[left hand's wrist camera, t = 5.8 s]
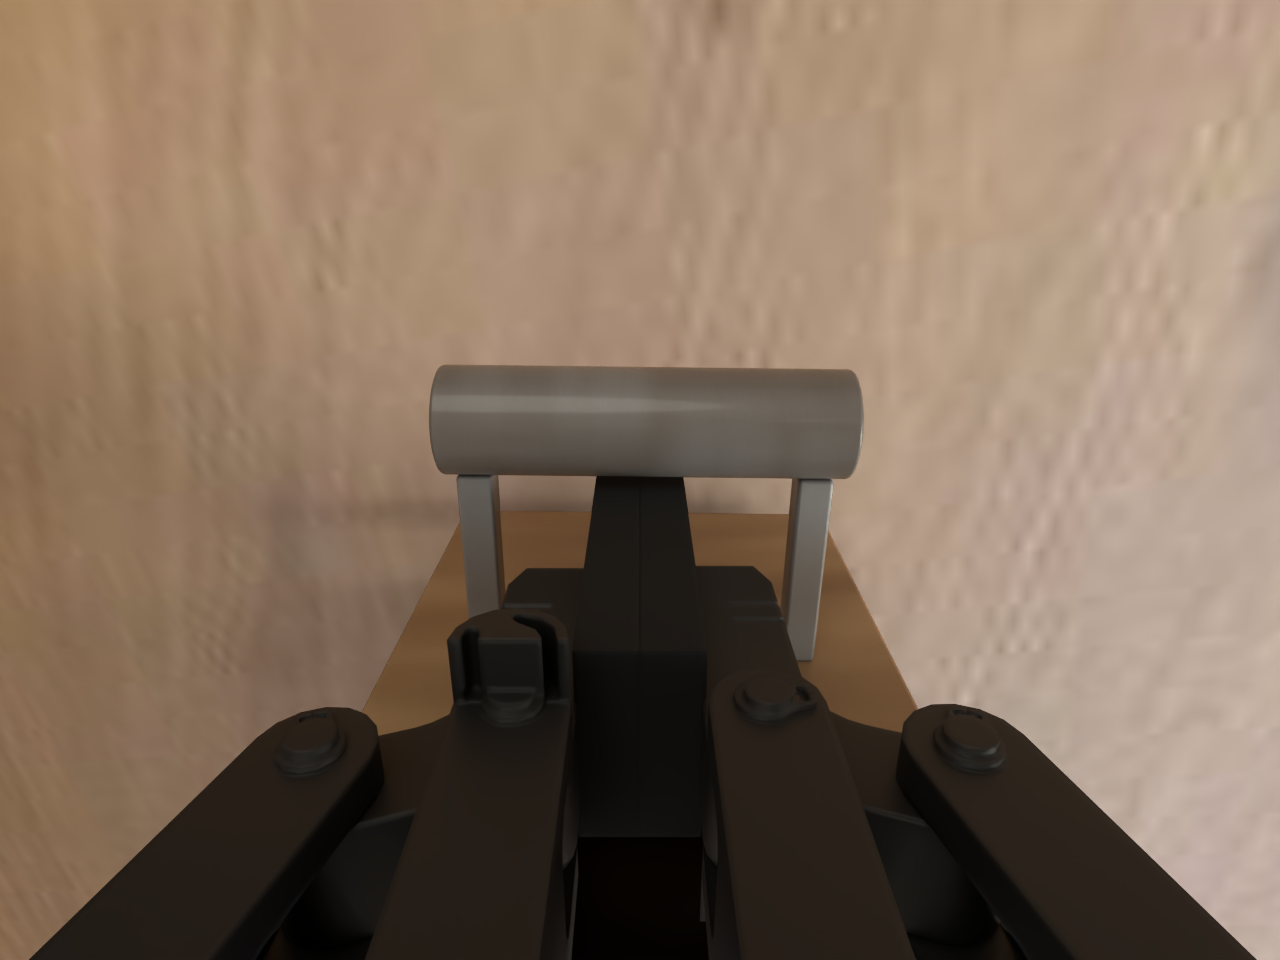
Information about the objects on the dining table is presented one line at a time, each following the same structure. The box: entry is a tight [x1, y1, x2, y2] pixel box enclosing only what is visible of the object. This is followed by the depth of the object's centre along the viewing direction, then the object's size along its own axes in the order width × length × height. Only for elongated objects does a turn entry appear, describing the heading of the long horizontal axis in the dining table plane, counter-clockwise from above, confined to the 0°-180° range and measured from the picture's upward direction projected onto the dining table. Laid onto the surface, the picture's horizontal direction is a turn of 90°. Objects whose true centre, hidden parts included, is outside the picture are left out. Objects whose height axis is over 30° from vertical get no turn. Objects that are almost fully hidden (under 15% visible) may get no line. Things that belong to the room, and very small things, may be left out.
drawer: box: [362, 365, 918, 960], centre depth 18 cm, size 22×9×9 cm, turn 179°
